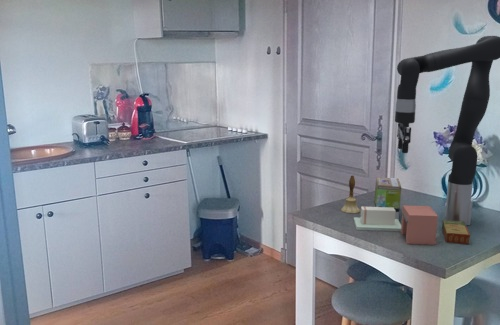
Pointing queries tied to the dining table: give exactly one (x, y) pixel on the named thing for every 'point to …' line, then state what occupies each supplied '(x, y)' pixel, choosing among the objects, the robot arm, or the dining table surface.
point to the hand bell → (351, 200)
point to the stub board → (377, 226)
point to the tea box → (388, 193)
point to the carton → (455, 232)
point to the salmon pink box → (419, 224)
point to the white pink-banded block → (378, 215)
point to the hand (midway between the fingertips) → (402, 150)
